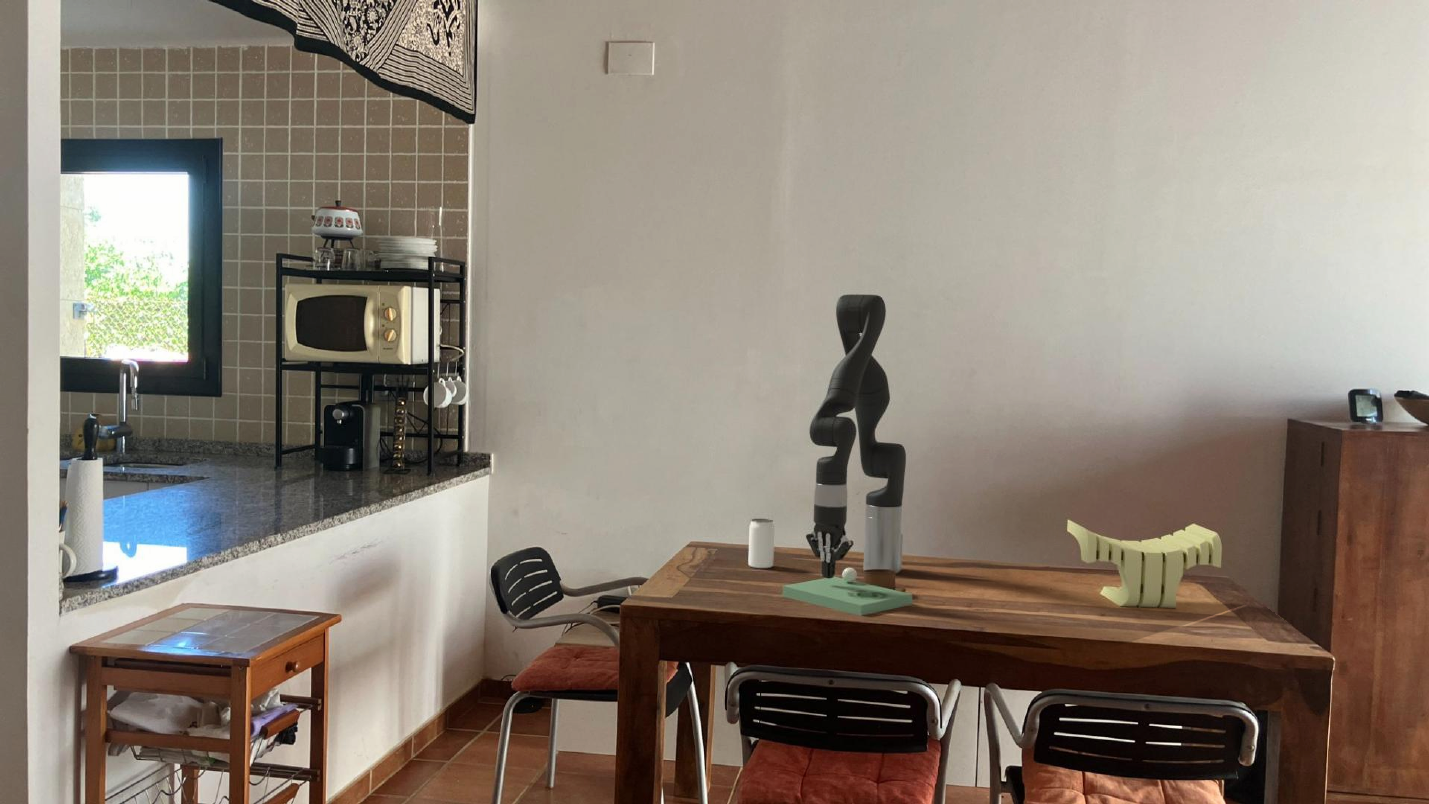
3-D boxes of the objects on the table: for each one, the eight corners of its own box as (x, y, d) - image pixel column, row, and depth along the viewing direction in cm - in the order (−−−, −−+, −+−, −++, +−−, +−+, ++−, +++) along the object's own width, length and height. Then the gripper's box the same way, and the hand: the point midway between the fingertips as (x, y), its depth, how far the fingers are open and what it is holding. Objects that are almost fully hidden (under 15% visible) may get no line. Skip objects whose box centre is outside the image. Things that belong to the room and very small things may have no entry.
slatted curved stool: (1085, 608, 253) (1089, 530, 252) (1064, 592, 269) (1067, 519, 268) (1218, 613, 252) (1222, 535, 251) (1189, 597, 268) (1193, 523, 267)
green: (782, 596, 255) (782, 585, 255) (833, 586, 267) (834, 576, 267) (860, 617, 238) (861, 605, 238) (912, 605, 250) (912, 594, 250)
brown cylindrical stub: (843, 597, 262) (843, 570, 262) (877, 592, 270) (877, 566, 270) (882, 602, 253) (881, 575, 253) (916, 597, 260) (916, 570, 261)
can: (771, 569, 285) (772, 522, 285) (746, 567, 287) (747, 521, 286) (774, 564, 292) (776, 519, 291) (750, 563, 293) (751, 517, 292)
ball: (862, 578, 260) (854, 568, 263) (856, 572, 258) (848, 562, 260) (850, 588, 261) (843, 577, 263) (844, 581, 258) (837, 571, 261)
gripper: (863, 505, 253) (860, 580, 255) (819, 498, 263) (817, 570, 264) (842, 508, 248) (839, 585, 249) (798, 500, 258) (795, 574, 259)
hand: (828, 577), depth 257 cm, fingers closed
